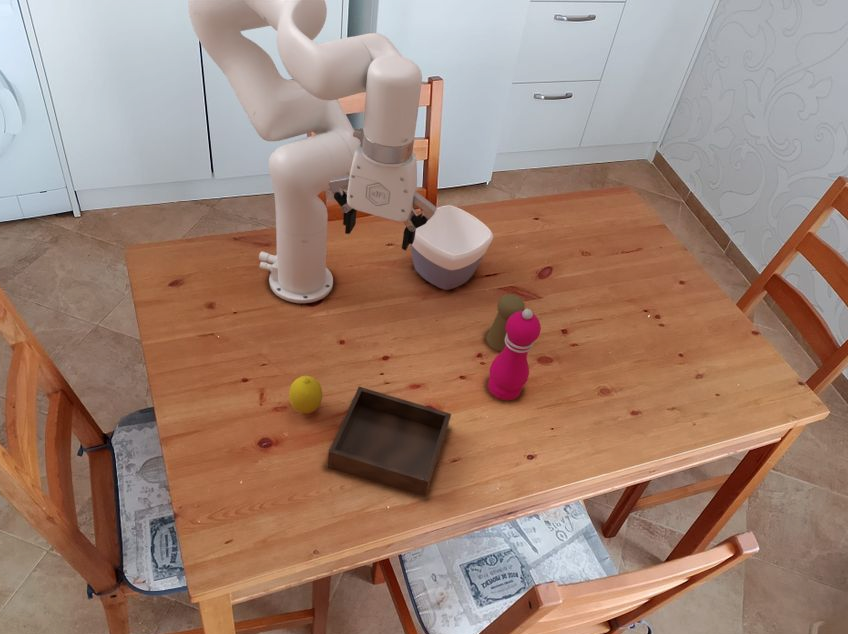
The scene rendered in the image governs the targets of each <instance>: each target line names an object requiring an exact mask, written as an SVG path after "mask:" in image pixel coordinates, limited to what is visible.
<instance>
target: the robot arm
mask: <svg viewBox="0 0 848 634" xmlns="http://www.w3.org/2000/svg"><path fill="white" fill-rule="evenodd" d="M187 9H188V14H189V19H190V23H191V26H192V28H193V31H194V33H195V36H196V38H197V40H198V41H199V42H200V45H201V46H202V48H203V49H204V51H205V52H206V53H207V54H208V56H209V57H210V58H211V60H212V61H213V63H215V65H216V66H217V67H218V68H219V69H220V71H221V72H222V73H223V74H224V75H225V77H226V79H227V81H228V83H229V84H230V86H231V88H232V90H233V92H234V94H235V96H236V97H237V99H238V101H239V103H240V105H241V107H242V109H243V111H244V113H245V114H246V116H247V119H248V120H249V123H251V125H252V127H253V129H254V131H255V132H256V134H258V136H259V137H260V138H261V139H262V140H264V141H266V142H269V143H270V142H280V141H284V140H289V139H291V138H295V137H299V136H301V135H306V134H309V133H314V134H315V135H310V136H306V137H304V138H303V137H302V138H299V139H297V140H293V141H289V142H287V143H284V144H283V145H281V146H279V147H277V148H276V149H275V150H274V151H273V152H272V153H271V155H270V157H269V158H268V173H269V177H270V181H271V185H272V190H273V195H274V204H275V205H274V207H275V233H276V235H275V237H276V254H271V253H269V252H265V251H260V253H259V254H258V261H260V263H259V269H262V270H264V271H269V272H270V274H269V278H268V283H269V287H270V290H272V292H273V293H274V294H275V295H276V296H277V297H279V298H280V299H282V300H284V301H287V302H289V303H294V304H295V303H296V304H311V303H315V302H318V301H321V300H322V299H324V298H326V297H327V296H328V295H329V294H330V293H331V291H332V290H333V286H334V276H333V274H332V272H331V271H330V269H329V268H328V267H327V251H328V250H327V247H328V223H329V222H328V220H329V214H328V208H327V206H326V204H325V202H323V200H322V199H321V198H320V197H319V195H320V194H321V193H323V192H325V191H328V190H331V193H332V194H333V199H334V200H335V201H336V203H337V204H338V205H339V207H341V208H340V210H341V212H342V213H343V218H342V225H343V226H345V230H344V233H345V234H346V235H350V234H351V233H352V231H353V229H354V228H355V226H356V223H357V211H358V212H361V213H365V214H369V215H372V216H374V217H375V216H376V217H379V218H382V219H386V220H389V221H395V222H398V223H399V222H400V223H402V222H403V224H404V225H405V228H404V230H403V234H402V235H403V236H402V243H401V249H402V251H407V250H408V247H409V245H411V244H413V242H414V238H415V232H416V228H418V227H420V226H422V225H424V224H426V222H427V221H428V220H429V219H430V218H431V217H432V216H433V215H434V214H435V211H436V209H437V208H438V207H437V206H435V204H433V203H432V202H431V201H430V200H428V199H427V198H426V197H424V196H423V195H422V194H420V193H419V192H418V162H417V155H416V153H415V152H414V146H415V145H414V144H415V136H416V129H417V122H418V114H419V107H420V99H421V92H422V86H423V85H422V84H423V74H422V71H421V69H420V67H419V66H418V64H416V63H415V62H414V61H412V60H411V59H409V58H406V57H404V56H403V55H402V54H401V53H400V51H399V50H398V49H397V47H396V46H395V45H394V43H393V42H392V41H391V40H390V39H389V38H388V37H387V36H386V35H383V34H381V33H379V32H369V33H364V34H359V35H355V36H348V37H343V38H339V39H333V40H329V41H324V42H321V43H318V42H315V41H314V40H315V39H316V38H317V37H318V36H319V34H320V33H321V32H322V30H323V28H324V26H325V23H326V20H327V14H328V13H327V12H328V8H327V3H326V0H188V1H187ZM266 27H272V28H273V29H274V30H275V31H276V46H277V50H278V55H279V57H280V60H281V62H282V65H283V66H284V69H285V70H286V72H287V74H288V75H289V76H290V77H291V78H289V79H287V78H284V77H283V76H282V75H281V73H280V71H279V70H278V68H277V66H276V64H275V62H274V60H273V58H272V57H271V55H270V54H269V53H267V51H266V50H265V49H263V48H262V47H261V46H260V45H259V44H257V43H256V42H255V41H253V40H251V39H250V38H248V37H247V36H246V37H245V36H244V35H243V34H242V32H244V31H250V30H255V29H262V28H266ZM362 93H365V97H364V98H365V99H364V100H365V101H364V113H363V126H362V128H358V127H353V126H352V123H351V121H350V119H349V117H348V116H347V114H346V112H345V110H344V108H343V106H342V104H341V102H340V101H339V100H340V99H343V98H347V97H351V96H355V95H358V94H362ZM343 187H344V188H345V187H347V193H346V192H345V190H344V189H343ZM415 206H416V207H418V208H419V209H420V210H422V211H423V212H422V213H420V214H418V213H417V211H416V210H415V209H414V207H415Z"/></svg>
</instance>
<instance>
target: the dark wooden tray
mask: <svg viewBox="0 0 848 634" xmlns="http://www.w3.org/2000/svg"><path fill="white" fill-rule="evenodd" d="M451 417H452V414H451V413H449V412H446V411H443V410H440V409H436V408H433V407H430V406H427V405H423V404H420V403H416V402H414V401H413V402H412V401H410V400H405V399H403V398H400V397H396V396H392V395H389V394H385V393H382V392H379V391H376V390H372V389H369V388H366V387H362V386H358V387H357V389H356V392H355V394H354V396H353V398H352V400H351V402H350V404H349V406H348V408H347V411H346V412H345V415H344V417H343V419H342V421H341V424H340V425H339V428H338V430H337V432H336V434H335V436H334V438H333V441H332V443H331V445H330V447H329V449H328V453H327V454H328V455H327V468H330V469H333V470H335V471H339V472H343V473H346V474H349V475H353V476H356V477H359V478H362V479H365V480H369V481H371V482H375V483H377V484H382V485H385V486H388V487H391V488H394V489H395V488H396V489H398V490H402V491H405V492H408V493H412V494H415V495H418V496H421V497H426V496H427V493H428V489H429V488H430V484H431V481H432V478H433V474H434V471H435V468H436V465H437V462H438V459H439V456H440V452H441V450H442V447H443V444H444V441H445V437H446V435H447V432H448V428H449V424H450V421H451Z"/></svg>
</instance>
